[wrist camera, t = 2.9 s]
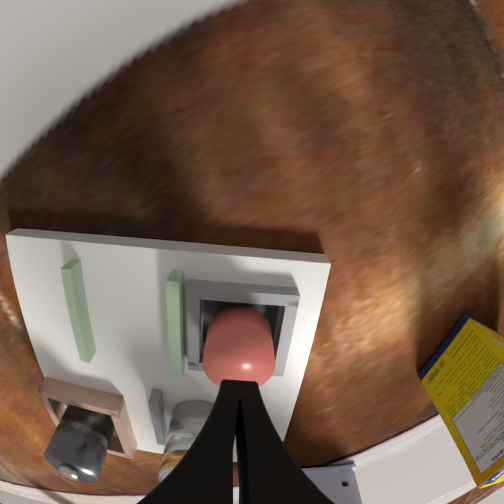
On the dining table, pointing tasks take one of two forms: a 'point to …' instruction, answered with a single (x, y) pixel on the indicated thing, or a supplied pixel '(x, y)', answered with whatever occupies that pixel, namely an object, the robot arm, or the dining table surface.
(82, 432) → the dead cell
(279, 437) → the robot arm
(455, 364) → the supplement box
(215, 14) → the dining table surface
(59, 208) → the dining table surface
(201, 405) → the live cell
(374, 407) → the dining table surface
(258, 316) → the button
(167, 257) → the tester board
